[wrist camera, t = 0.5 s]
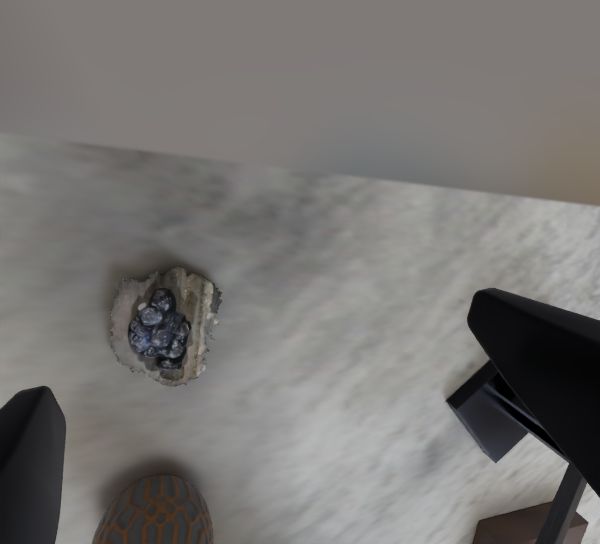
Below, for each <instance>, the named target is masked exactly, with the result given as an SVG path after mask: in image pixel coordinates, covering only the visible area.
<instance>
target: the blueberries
mask: <svg viewBox="0 0 600 544" xmlns="http://www.w3.org/2000/svg"><path fill="white" fill-rule="evenodd" d="M149 277H150V278H149V279H146V281H145V282H138V281H137V280H135V279H132V278H130V279H131V280H129V281H128V280H125V278H122V279H123V280H122V281H123V282H121V283H122V286H121V285H119V284H117V285H118V286H116V288H118V290H119V291H120V293H119V294H120V295H117V296H116V297H115V299H116V300H114V301H115V302H114V304H113V306H112V309H111V311H112V313H111V314H112V316H110V320H111V321H113V322H114V324H113V325H114V326H113V328H114V329H111V328H110V331H111V333H112V334H113V335H114V336H112V337H110V338H111V341H110V343H111V346H112V348H113V349H114V352H116V353H115V354H116V356H117V357H118V360H117V362H119V363H121V364H122V365H127V366H129V367H131V368H130V370H131V371H132V372H134V371H138V373H139V372H140V371H144V372H143V373H144V374H146V377H152V378H153V380H154V379H155V380H156V381H158V382H160V383H161V384H162V385H166V386H171V387H172V386H177V385H181V384H185V385H187V384H186V383H188V381H189V380H191V379H196V378H198V376H199V374H201V372H203V371H204V370H205V368H206V367H207V366H205V365H204V363H203V362H206V361H207V360H205V357H206V355H207V354H208V353H207V352H209V350H208V348H207V346H206V344H205V340H204V339H205V337H206V336H208V337H211V339H213V338H212V335H209V334H208V333H209V331H211V330H209V329H210V328H211V327H212V323H213V324H215V325H218V324H219V322H220V321H219V320H218V318H217V319H215V318H214V317H215V315H216V313H217V310H218V306H219V305H220V304H221V302H222V300H221V299H220V298H219V297H221V296H220V295H221V293H222V292H220V291H219V292H218V290H217V289H218V288H216V287H215V285H214V283H212V282H211V283H210V281H207V279H205V278H204V277H202V276H201V277H200V275H199V276H198V275H196V274H195V275H194V273H192V274H191V275H190V277H187V276H186V271H185V269H184V270H183V269H182V268H180V267H179V266H178V267H175V268H174V269H173V268H171V269H169V271H168V272H166V273H165V274H164V275H161V274H160V273H158V271H157V270H156V274H153V273H152V274H150V275H149ZM124 332H126V334H125V333H124ZM211 332H212V331H211ZM213 340H214V339H213Z"/></svg>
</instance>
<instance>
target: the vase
mask: <svg viewBox="0 0 600 544" xmlns="http://www.w3.org/2000/svg"><path fill="white" fill-rule="evenodd" d="M92 544H213V529H212V522H211V518H210V513H209V510H208V508H207V505H206V503H205V501H204V499H203V497H202V496H201V494H200V493H199V492H198V490H197V489H196V488H195V487H194V486H193V485H192V484H191V483H189V482H187V481H186V480H184V479H182V478H179V477H176V476H171V475H156V476H151V477H148V478H145V479H142V480H140V481H138V482H136V483H134V484H133V485H131V486H130V487H128V488H127V489H126V490H124V491H123V492H122V493H121V494H120V495H119V496H118V497H117V498H116V499H115V500H114V501H113V503H112V504H111V505H110V507H109V508H108V509H107V511H106V513H105V514H104V516H103V518H102V519H101V521H100V523H99V526H98V528H97V530H96V532H95V535H94V539H93V542H92Z"/></svg>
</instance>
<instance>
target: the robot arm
mask: <svg viewBox="0 0 600 544" xmlns="http://www.w3.org/2000/svg"><path fill="white" fill-rule="evenodd" d="M467 323H468V326H469V328H470V330H471V331H472V333H473V334H474V336H475V337H476V339H477V340H478V342H479V343H480V345H481V346H482V348H483V349H484V351H485V352H486V354H487V355H488V357H489V358H490V360H491V361H492V363H493V364H494V366H495V367H496V368H497V370H498V371H499V373H500V374H501V376H502V377H503V379H504V380H505V381H506V383H507V384H508V385H509V386H510V388H511V389H512V390H513V392H514V393H515V394H516V395H517V396H518V398H519V399H520V400H521V401H522V403H523V404H524V405H525V406H526V408H527V409H528V410H529V411H530V412H531V414H532V415H533V416H534V417H535V419H536V420H537V421H538V422H539V424H540V425H541V426H542V427H543V428H544V430H545V431H546V432H547V433H548V435H549V436H550V437H551V438H552V440H553V441H554V442H555V443H556V444H557V446H558V447H559V448H560V449H561V451H562V452H563V453H564V454H565V456H566V457H567V458H568V459H569V460H570V462H571V463H572V464H573V465H574V467H575V468H576V469H577V470H578V472H579V473H580V474H581V475H582V476H583V478H584V479H585V480H586V481H587V483H588V484H589V485H590V486H591V488H592V489H593V490H594V491H595V492H596V494H597V495H598V496H599V497H600V320H596V319H593V318H590V317H587V316H583V315H580V314H577V313H574V312H570V311H567V310H564V309H561V308H557V307H554V306H551V305H548V304H544V303H541V302H538V301H535V300H532V299H528V298H525V297H522V296H519V295H515V294H512V293H509V292H506V291H502V290H499V289H496V288H488V289H483V290H479V291H477V292H476V293H475V294H474V296H473V300H472V303H471V306H470V310H469V313H468V317H467ZM65 437H66V421H65V417H64V414H63V412H62V410H61V408H60V406H59V404H58V402H57V400H56V398H55V397H54V395H53V393H52V391H51V389H50V388H49V387H47V386H40V387H35V388H31V389H26V390H22V391H20V392H18V393H17V394H15V395H14V396H13V397H12V398H11V399H10V400H9V401H8V402H7V403H6V404H5V405H4V406H3V407H2V408H1V409H0V544H55V540H56V535H57V529H58V522H59V516H60V506H61V493H62V479H63V465H64V451H65Z"/></svg>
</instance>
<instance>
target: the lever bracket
mask: <svg viewBox="0 0 600 544" xmlns="http://www.w3.org/2000/svg"><path fill="white" fill-rule="evenodd" d="M447 403H448V404H449V406H450V407H451V408H452V410H453V411H454V412H455V414H456V415H457V416H458V418H459V419H460V420H461V422H462V423H463V424H464V426H465V427H466V428H467V430H468V431H469V432H470V434H471V435H472V436H473V438H474V439H475V440H476V442H477V443H478V444H479V446H480V447H481V448H482V450H483V451H484V452H485V454H486V455H487V456H488V457H489V458H490V459H492V460H493V461H494V462H495V463H497V462H498V461H499V460H500V459H501V458H502V457H503V456H504V455H505V454H506V453H507V452H508V451H509V450H511V449H512V448H513V447H514V446H515V445H516V444H517V443H518V442H519V441H520V440H521V439H522V438H523V437H524V436H525V435H526V434H527V433H531V434H532V435H533V436H534V437H536V438H537V439H538V440H540V441H541V442H542V443H544V444H545V445H546V446H547V447H549V448H550V449H551V450H553V451H554V452H555V453H556V454H558V455H559V456H560V457H562V458H563V459H564V460H566V461H567V462H568V463H570V460H569V459H568V458H567V457H566V456H565V454H564V453H563V452H562V451H561V449H560V448H559V447H558V446H557V444H556V443H555V442H554V441H553V440H552V438H551V437H550V436H549V435H548V433H547V432H546V431H545V430H544V428H543V427H542V426H541V425H540V424H539V422H538V421H537V420H536V419H535V417H534V416H533V415H532V414H531V412H530V411H529V410H528V409H527V408H526V406H525V405H524V404H523V403H522V401H521V400H520V399H519V398H518V396H517V395H516V394H515V393H514V392H513V390H512V389H511V388H510V386H509V385H508V384H507V383H506V381H505V380H504V379H503V377H502V376H501V374H500V373H499V371H498V370H497V368H496V367H495V366H494V364H493V363H492V361H491V360H490V361H489V362H488V363H487V364H486V365H485V366H484V367H483V368H482V369H481V370H479V371H478V372H477V373H476V374H475V375H474V376H473V377H472V378H471V379H470V380H469V381H468V382H466V383H465V384H464V385H463V386H462V387H461V388H460V389H459V390H458V391H457V392H456V393H455V394H453V395H452V396H451V397H450V398H449V399H448V400H447Z"/></svg>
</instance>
